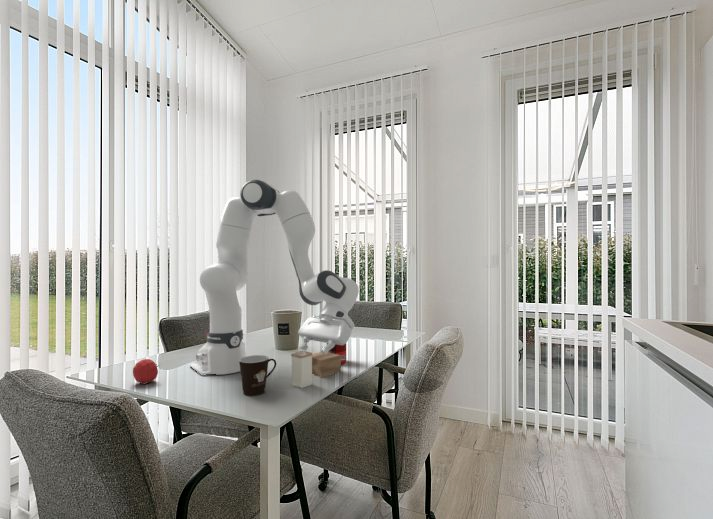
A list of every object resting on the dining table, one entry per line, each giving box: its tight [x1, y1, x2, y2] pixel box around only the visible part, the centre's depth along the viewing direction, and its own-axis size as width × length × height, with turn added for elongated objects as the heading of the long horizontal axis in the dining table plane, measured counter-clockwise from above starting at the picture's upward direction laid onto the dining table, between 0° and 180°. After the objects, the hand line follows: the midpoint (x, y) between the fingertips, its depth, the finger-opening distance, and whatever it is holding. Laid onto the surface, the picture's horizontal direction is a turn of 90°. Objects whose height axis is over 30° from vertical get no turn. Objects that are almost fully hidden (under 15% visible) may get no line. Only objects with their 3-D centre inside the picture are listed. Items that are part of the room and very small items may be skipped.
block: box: [312, 351, 342, 378], centre depth 128 cm, size 9×9×6 cm
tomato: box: [132, 358, 160, 384], centre depth 118 cm, size 8×8×8 cm
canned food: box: [326, 343, 347, 365], centre depth 140 cm, size 8×8×11 cm
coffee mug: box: [239, 354, 277, 397], centre depth 109 cm, size 12×9×10 cm
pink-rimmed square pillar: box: [290, 350, 313, 389], centre depth 114 cm, size 5×5×10 cm
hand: (312, 351), depth 118 cm, fingers open, 8 cm apart
